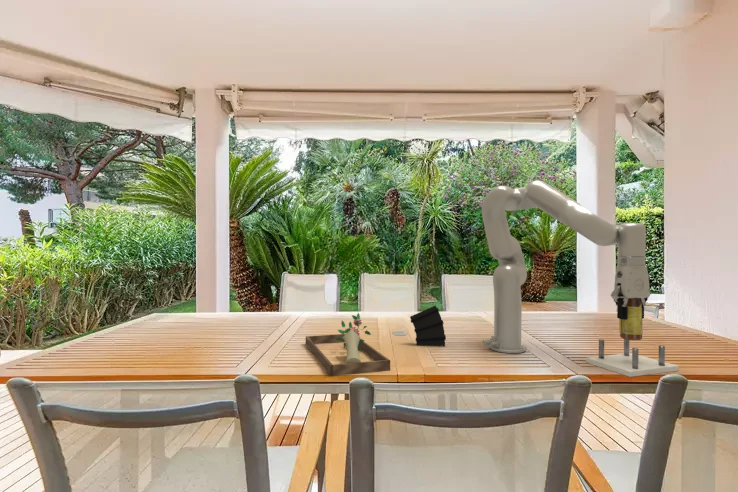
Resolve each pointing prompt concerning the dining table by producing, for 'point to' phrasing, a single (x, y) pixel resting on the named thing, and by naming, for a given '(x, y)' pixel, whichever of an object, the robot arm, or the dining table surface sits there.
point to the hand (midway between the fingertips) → (630, 317)
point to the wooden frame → (348, 368)
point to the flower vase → (352, 340)
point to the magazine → (429, 327)
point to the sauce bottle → (632, 320)
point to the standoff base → (627, 365)
